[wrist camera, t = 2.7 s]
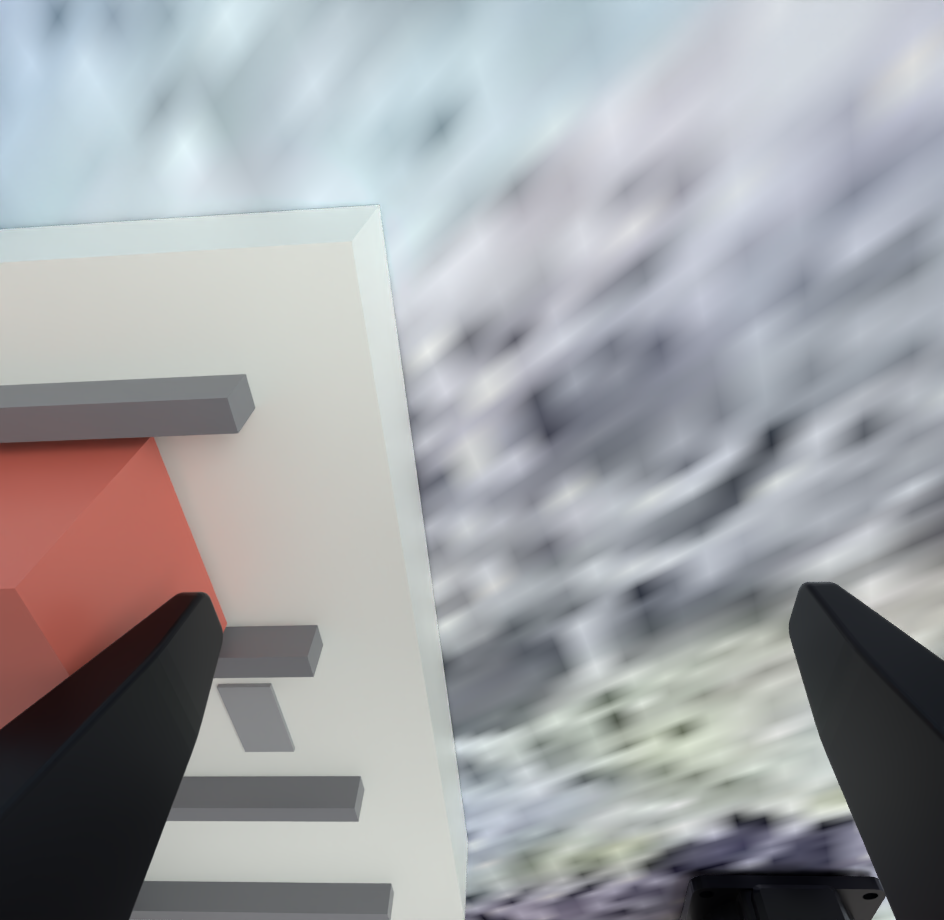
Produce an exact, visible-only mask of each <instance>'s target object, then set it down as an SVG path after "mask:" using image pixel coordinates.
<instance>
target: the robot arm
mask: <svg viewBox="0 0 944 920" xmlns="http://www.w3.org/2000/svg"><path fill="white" fill-rule="evenodd" d="M789 634H790V639H791V642H792V646H793V649H794V653H795V656H796V659H797V663H798V666H799V670H800V673H801V676H802V680H803V683H804V687H805V690H806V693H807V697H808V700H809V704H810V707H811V710H812V714H813V717H814V721H815V724H816V727H817V730H818V733H819V736H820V739H821V741H822V744H823V746H824V749H825V752H826V754H827V756H828V759H829V761H830V764H831V766H832V768H833V771H834V773H835V776H836V778H837V780H838V783H839V785H840V787H841V790H842V792H843V795H844V797H845V799H846V802H847V804H848V807H849V809H850V811H851V814H852V816H853V818H854V821H855V823H856V826H857V828H858V830H859V833H860V835H861V837H862V840H863V842H864V845H865V847H866V849H867V852H868V854H869V857H870V859H871V861H872V864H873V866H874V868H875V871H876V873H877V876H878V878H879V879H878V878H875V877H861V876H749V875H701V876H697V877H694V878H692V879H691V880H690V882H689V886H688V890H687V894H686V898H685V902H684V906H683V910H682V914H681V918H680V920H871V919H872V918H873V916H874V915H875V913H876V911H877V910H878V908H879V906H880V905H881V903H882V901H883V900H884V898H885V896H886V897H887V899H888V902H889V904H890V907H891V909H892V911H893V914H894V916H895V918H896V920H944V661H943V660H942V659H941V658H939V657H938V656H936V655H935V654H934V653H932V652H931V651H929V650H928V649H927V648H925V647H924V646H922V645H921V644H920V643H918V642H917V641H915V640H914V639H913V638H911V637H910V636H908V635H907V634H906V633H904V632H903V631H902V630H900V629H899V628H897V627H896V626H895V625H893V624H892V623H890V622H889V621H888V620H886V619H885V618H883V617H882V616H881V615H879V614H878V613H876V612H875V611H874V610H872V609H871V608H869V607H868V606H867V605H865V604H864V603H862V602H861V601H860V600H858V599H857V598H855V597H854V596H853V595H851V594H850V593H848V592H847V591H846V590H844V589H843V588H841V587H840V586H839V585H837V584H835V583H832V582H806V583H804V584H802V585H801V587H800V589H799V591H798V594H797V598H796V601H795V604H794V608H793V611H792V614H791V618H790V622H789ZM222 643H223V630H222V626H221V623H220V621H219V618H218V616H217V613H216V611H215V608H214V606H213V603H212V601H211V598H210V596H209V595H208V594H207V593H205V592H181V593H178V594H176V595H175V596H173V597H172V598H171V599H169V600H168V601H167V602H165V603H164V604H163V605H162V606H160V607H159V608H158V609H156V610H155V611H154V612H152V613H151V614H150V615H148V616H147V617H146V618H145V619H143V620H142V621H141V622H139V623H138V624H137V625H135V626H134V627H133V628H132V629H130V630H129V631H128V632H126V633H125V634H124V635H122V636H121V637H120V638H119V639H117V640H116V641H115V642H113V643H112V644H111V645H109V646H108V647H107V648H105V649H104V650H103V651H102V652H100V653H99V654H98V655H96V656H95V657H94V658H92V659H91V660H90V661H89V662H87V663H86V664H85V665H83V666H82V667H81V668H79V669H78V670H77V671H75V672H74V673H73V674H72V675H70V676H69V677H68V678H66V679H65V680H64V681H62V682H61V683H60V684H59V685H57V686H56V687H55V688H53V689H52V690H51V691H49V692H48V693H47V694H46V695H44V696H43V697H42V698H40V699H39V700H38V701H36V702H35V703H34V704H32V705H31V706H30V707H29V708H27V709H26V710H25V711H23V712H22V713H21V714H19V715H18V716H17V717H16V718H14V719H13V720H12V721H10V722H9V723H8V724H6V725H5V726H4V727H2V728H1V729H0V920H129V919H130V917H131V914H132V911H133V909H134V906H135V903H136V901H137V898H138V895H139V893H140V890H141V887H142V885H143V882H144V879H145V877H146V874H147V871H148V869H149V866H150V863H151V861H152V858H153V856H154V853H155V850H156V848H157V845H158V842H159V840H160V837H161V834H162V832H163V829H164V826H165V824H166V821H167V818H168V816H169V813H170V810H171V808H172V805H173V802H174V800H175V797H176V795H177V792H178V789H179V787H180V784H181V781H182V779H183V776H184V773H185V771H186V768H187V765H188V763H189V760H190V757H191V755H192V752H193V749H194V746H195V743H196V741H197V738H198V734H199V731H200V727H201V724H202V720H203V717H204V713H205V709H206V705H207V701H208V697H209V693H210V690H211V686H212V682H213V678H214V674H215V670H216V667H217V663H218V659H219V655H220V651H221V647H222Z"/></svg>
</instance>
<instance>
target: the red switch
mask: <svg viewBox="0 0 944 920" xmlns="http://www.w3.org/2000/svg"><path fill="white" fill-rule="evenodd" d="M181 592H205V593H207V594H208V595H209V596H210V598H211V601H212V603H213V606H214V608H215V611H216V613H217V616H218V618H219V621H220V623H221V626H222V630H223V632H224V630H225V628H226V626H227V621H226V619H225V616H224V614H223V611H222V609H221V606H220V604H219V601H218V599H217V596H216V594H215V591H214V589H213V586H212V583H211V581H210V578H209V576H208V573H207V571H206V568H205V566H204V563H203V561H202V558H201V556H200V553H199V551H198V548H197V545H196V543H195V540H194V538H193V535H192V533H191V530H190V528H189V525H188V523H187V520H186V518H185V515H184V513H183V510H182V508H181V505H180V502H179V500H178V497H177V495H176V492H175V490H174V487H173V485H172V482H171V480H170V477H169V475H168V472H167V470H166V467H165V464H164V462H163V459H162V457H161V454H160V452H159V449H158V447H157V444H156V442H155V439H154V437H136V438H111V439H86V440H61V441H36V442H11V443H0V729H1V728H2V727H4V726H5V725H6V724H8V723H9V722H10V721H12V720H13V719H14V718H16V717H17V716H18V715H19V714H21V713H22V712H23V711H25V710H26V709H27V708H29V707H30V706H31V705H32V704H34V703H35V702H36V701H38V700H39V699H40V698H42V697H43V696H44V695H46V694H47V693H48V692H49V691H51V690H52V689H53V688H55V687H56V686H57V685H59V684H60V683H61V682H62V681H64V680H65V679H66V678H68V677H69V676H70V675H72V674H73V673H74V672H75V671H77V670H78V669H79V668H81V667H82V666H83V665H85V664H86V663H87V662H89V661H90V660H91V659H92V658H94V657H95V656H96V655H98V654H99V653H100V652H102V651H103V650H104V649H105V648H107V647H108V646H109V645H111V644H112V643H113V642H115V641H116V640H117V639H119V638H120V637H121V636H122V635H124V634H125V633H126V632H128V631H129V630H130V629H132V628H133V627H134V626H135V625H137V624H138V623H139V622H141V621H142V620H143V619H145V618H146V617H147V616H148V615H150V614H151V613H152V612H154V611H155V610H156V609H158V608H159V607H160V606H162V605H163V604H164V603H165V602H167V601H168V600H169V599H171V598H172V597H173V596H175V595H176V594H178V593H181Z"/></svg>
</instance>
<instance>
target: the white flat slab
mask: <svg viewBox="0 0 944 920" xmlns="http://www.w3.org/2000/svg"><path fill="white" fill-rule="evenodd" d="M136 437H154V439H155V442H156V444H157V447H158V449H159V452H160V454H161V457H162V459H163V462H164V464H165V467H166V470H167V472H168V475H169V477H170V480H171V482H172V485H173V487H174V490H175V492H176V495H177V497H178V500H179V502H180V505H181V508H182V510H183V513H184V515H185V518H186V520H187V523H188V525H189V528H190V530H191V533H192V535H193V538H194V540H195V543H196V545H197V548H198V551H199V553H200V556H201V558H202V561H203V563H204V566H205V568H206V571H207V573H208V576H209V578H210V581H211V583H212V586H213V589H214V591H215V594H216V596H217V599H218V601H219V604H220V606H221V609H222V611H223V614H224V616H225V619H226V621H227V626H226V628H225V630H224V632H223V643H222V647H221V651H220V655H219V659H218V663H217V667H216V670H215V674H214V678H213V682H212V686H211V690H210V693H209V697H208V701H207V705H206V709H205V713H204V717H203V720H202V724H201V727H200V731H199V734H198V738H197V741H196V743H195V746H194V749H193V752H192V755H191V757H190V760H189V763H188V765H187V768H186V771H185V773H184V776H183V779H182V781H181V784H180V787H179V789H178V792H177V795H176V797H175V800H174V802H173V805H172V808H171V810H170V813H169V816H168V818H167V821H166V824H165V826H164V829H163V832H162V834H161V837H160V840H159V842H158V845H157V848H156V850H155V853H154V856H153V858H152V861H151V863H150V866H149V869H148V871H147V874H146V877H145V879H144V882H143V885H142V887H141V890H140V893H139V895H138V898H137V901H136V903H135V906H134V909H133V911H132V914H131V917H130V919H129V920H465V902H466V878H467V854H468V839H467V832H466V824H465V817H464V810H463V803H462V795H461V788H460V781H459V774H458V767H457V759H456V752H455V745H454V738H453V731H452V723H451V716H450V709H449V702H448V695H447V687H446V680H445V673H444V666H443V659H442V651H441V644H440V637H439V630H438V623H437V615H436V608H435V601H434V594H433V587H432V579H431V572H430V565H429V558H428V551H427V543H426V536H425V529H424V522H423V515H422V507H421V500H420V493H419V486H418V479H417V471H416V464H415V457H414V450H413V442H412V435H411V428H410V421H409V414H408V406H407V399H406V392H405V385H404V378H403V370H402V363H401V356H400V349H399V342H398V334H397V327H396V320H395V313H394V306H393V298H392V291H391V284H390V277H389V270H388V262H387V255H386V248H385V241H384V234H383V226H382V219H381V212H380V205H368V206H352V207H337V208H321V209H306V210H290V211H275V212H259V213H244V214H228V215H213V216H197V217H182V218H166V219H151V220H135V221H120V222H104V223H89V224H73V225H58V226H42V227H27V228H11V229H0V443H11V442H36V441H61V440H86V439H111V438H136Z"/></svg>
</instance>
